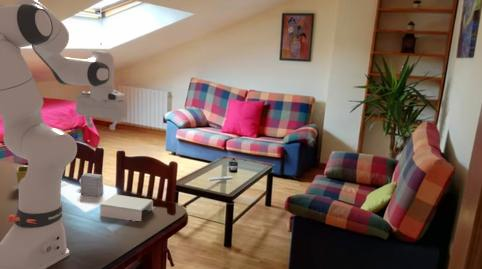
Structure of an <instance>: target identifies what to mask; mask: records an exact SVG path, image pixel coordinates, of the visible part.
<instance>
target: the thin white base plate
mask: <svg viewBox="0 0 482 269" xmlns="http://www.w3.org/2000/svg"><path fill="white" fill-rule="evenodd" d="M99 206H100V205H99ZM153 206H154V200H153V201H152V203H150V204H149V205H148V206H147V207H146V208H145V209H144V210H152V209H153V210H154V208H153ZM144 210H142V211H144ZM142 211H141V212H137V211H130V210H123V209H117V208H110V207H103V206H100V209H99V214H100V217H105V218H110V219H117V220H123V219H124V221H129V220H132V221H131V222H135V221H141V222H142V214H143V213H142Z"/></svg>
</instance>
